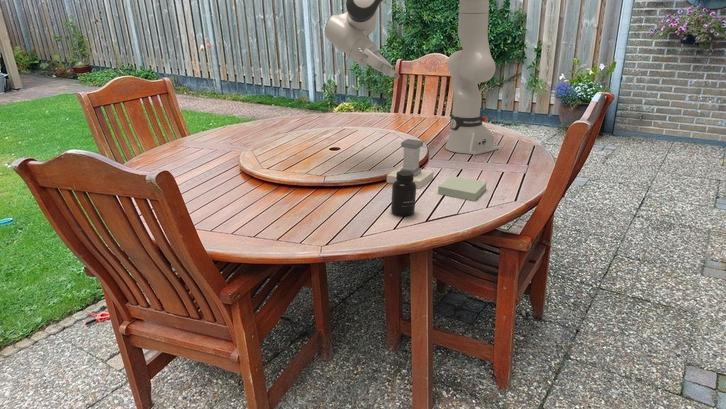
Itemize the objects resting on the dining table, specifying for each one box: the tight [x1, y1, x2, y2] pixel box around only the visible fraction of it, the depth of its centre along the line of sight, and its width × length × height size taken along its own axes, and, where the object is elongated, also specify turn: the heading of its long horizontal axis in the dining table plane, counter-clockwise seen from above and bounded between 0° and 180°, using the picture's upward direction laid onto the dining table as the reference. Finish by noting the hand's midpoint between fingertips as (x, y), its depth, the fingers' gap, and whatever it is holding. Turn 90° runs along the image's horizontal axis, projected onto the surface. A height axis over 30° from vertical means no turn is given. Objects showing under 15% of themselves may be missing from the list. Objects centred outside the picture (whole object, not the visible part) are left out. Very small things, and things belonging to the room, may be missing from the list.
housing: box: [400, 138, 424, 177], centre depth 164 cm, size 6×6×11 cm
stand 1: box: [386, 165, 435, 189], centre depth 167 cm, size 12×12×2 cm
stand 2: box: [437, 175, 488, 202], centre depth 157 cm, size 12×12×2 cm
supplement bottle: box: [390, 171, 417, 217], centre depth 139 cm, size 7×7×12 cm
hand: (395, 76), depth 165 cm, fingers open, 8 cm apart
